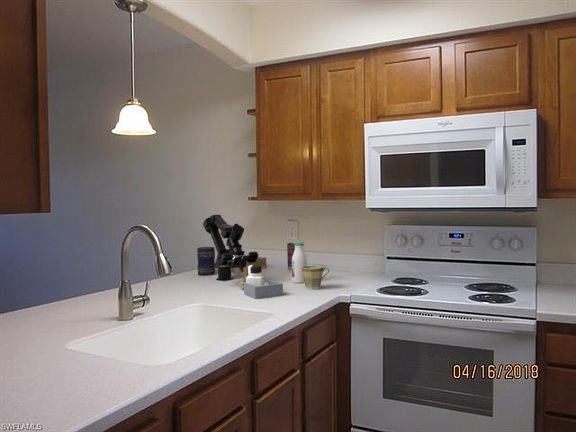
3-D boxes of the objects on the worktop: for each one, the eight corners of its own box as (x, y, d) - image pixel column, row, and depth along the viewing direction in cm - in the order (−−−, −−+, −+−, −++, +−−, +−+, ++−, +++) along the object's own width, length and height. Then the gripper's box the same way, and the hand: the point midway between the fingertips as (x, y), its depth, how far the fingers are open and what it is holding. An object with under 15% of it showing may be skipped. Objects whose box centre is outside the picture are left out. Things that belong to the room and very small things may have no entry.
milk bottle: (309, 281, 231) (309, 241, 230) (303, 283, 224) (303, 243, 223) (295, 280, 234) (295, 241, 234) (289, 282, 227) (288, 242, 227)
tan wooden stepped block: (238, 287, 214) (238, 267, 214) (253, 285, 218) (253, 266, 218) (243, 289, 210) (242, 269, 209) (258, 287, 214) (258, 267, 213)
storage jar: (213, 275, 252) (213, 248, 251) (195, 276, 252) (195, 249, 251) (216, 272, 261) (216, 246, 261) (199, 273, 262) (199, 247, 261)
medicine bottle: (264, 289, 211) (263, 264, 211) (261, 293, 204) (261, 266, 204) (249, 289, 212) (248, 264, 211) (246, 293, 205) (245, 266, 204)
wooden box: (224, 271, 267) (223, 260, 267) (249, 265, 286) (249, 256, 286) (242, 273, 259) (242, 262, 259) (267, 267, 278) (267, 257, 278)
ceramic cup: (305, 291, 207) (304, 269, 207) (300, 286, 217) (299, 265, 216) (332, 289, 210) (332, 267, 209) (326, 285, 220) (326, 264, 219)
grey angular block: (244, 294, 202) (243, 283, 202) (270, 290, 209) (270, 279, 209) (255, 298, 193) (255, 287, 192) (282, 295, 199) (282, 283, 199)
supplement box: (303, 270, 264) (303, 243, 264) (298, 271, 261) (297, 243, 260) (292, 269, 270) (292, 242, 270) (287, 270, 267) (286, 243, 266)
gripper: (247, 255, 236) (257, 280, 227) (213, 258, 227) (222, 284, 218) (253, 241, 229) (264, 266, 220) (218, 244, 220) (228, 269, 210)
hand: (244, 272), depth 217 cm, fingers closed
